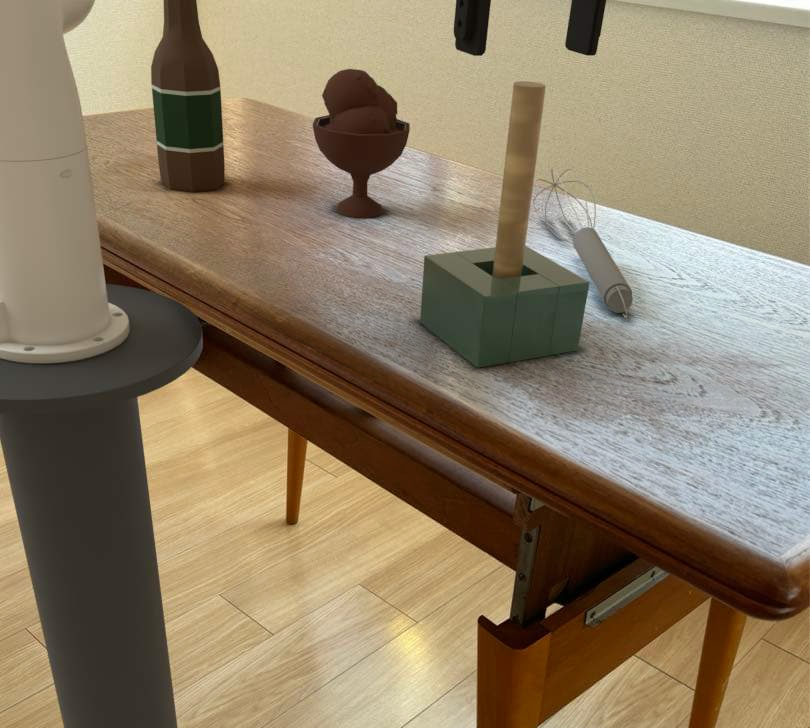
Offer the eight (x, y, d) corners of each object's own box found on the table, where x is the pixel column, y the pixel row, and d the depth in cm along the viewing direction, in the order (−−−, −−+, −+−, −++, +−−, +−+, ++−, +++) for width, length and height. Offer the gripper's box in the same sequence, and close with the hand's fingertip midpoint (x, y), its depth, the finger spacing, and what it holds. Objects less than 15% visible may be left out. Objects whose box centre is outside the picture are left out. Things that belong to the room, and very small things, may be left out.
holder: (477, 368, 76) (485, 296, 72) (419, 322, 83) (424, 255, 79) (578, 350, 80) (590, 281, 76) (514, 308, 87) (523, 243, 83)
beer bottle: (193, 171, 119) (177, -52, 105) (238, 184, 116) (228, -45, 102) (146, 183, 114) (123, -50, 100) (192, 196, 110) (175, -43, 96)
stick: (494, 344, 80) (525, 87, 68) (480, 333, 82) (507, 81, 70) (518, 340, 81) (552, 86, 69) (503, 329, 83) (534, 80, 71)
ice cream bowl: (389, 230, 104) (396, 81, 95) (297, 215, 106) (295, 69, 98) (418, 205, 112) (427, 67, 103) (332, 192, 115) (333, 56, 106)
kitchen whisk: (591, 323, 85) (604, 254, 81) (524, 214, 112) (531, 159, 109) (657, 325, 85) (672, 256, 82) (574, 216, 113) (582, 161, 109)
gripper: (478, -276, 52) (448, 62, 62) (711, -237, 60) (651, 61, 69) (416, -267, 58) (398, 43, 68) (636, -232, 65) (591, 44, 75)
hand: (526, 52), depth 69 cm, fingers open, 9 cm apart
